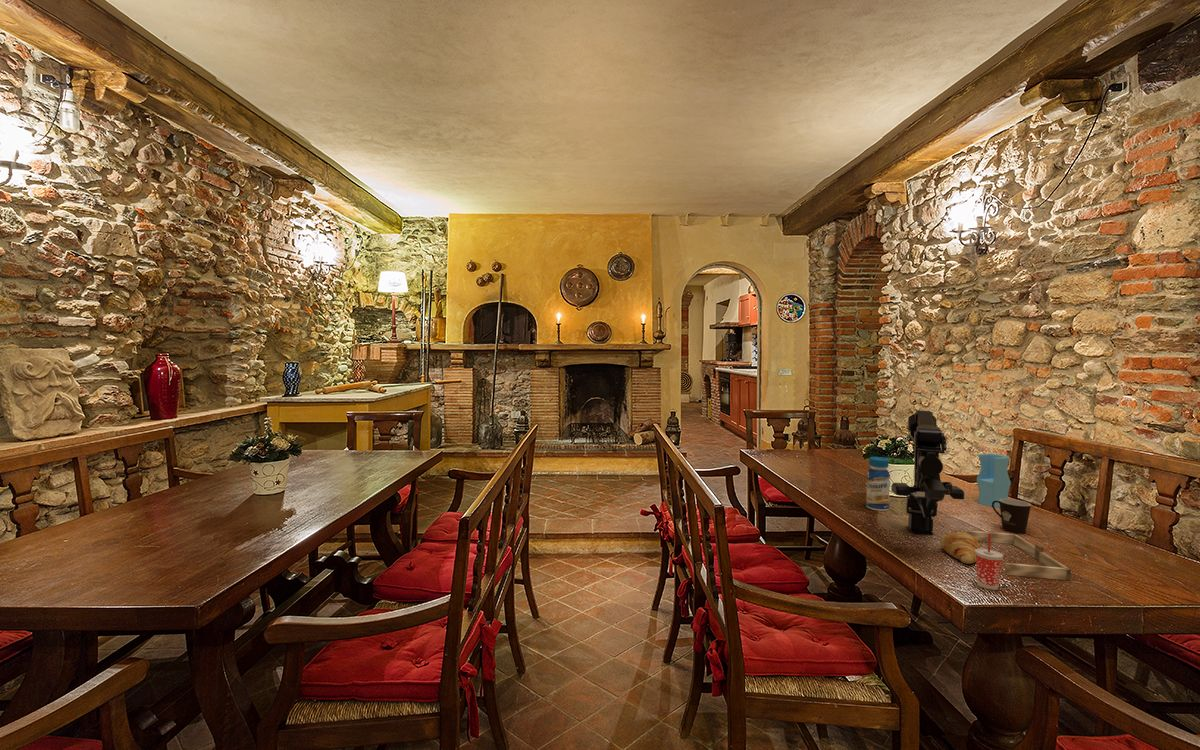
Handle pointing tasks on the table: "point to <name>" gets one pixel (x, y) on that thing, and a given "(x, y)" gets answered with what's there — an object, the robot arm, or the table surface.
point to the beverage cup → (988, 567)
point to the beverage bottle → (878, 484)
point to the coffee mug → (1013, 515)
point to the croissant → (961, 546)
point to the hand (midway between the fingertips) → (925, 517)
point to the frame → (1051, 567)
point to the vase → (993, 479)
